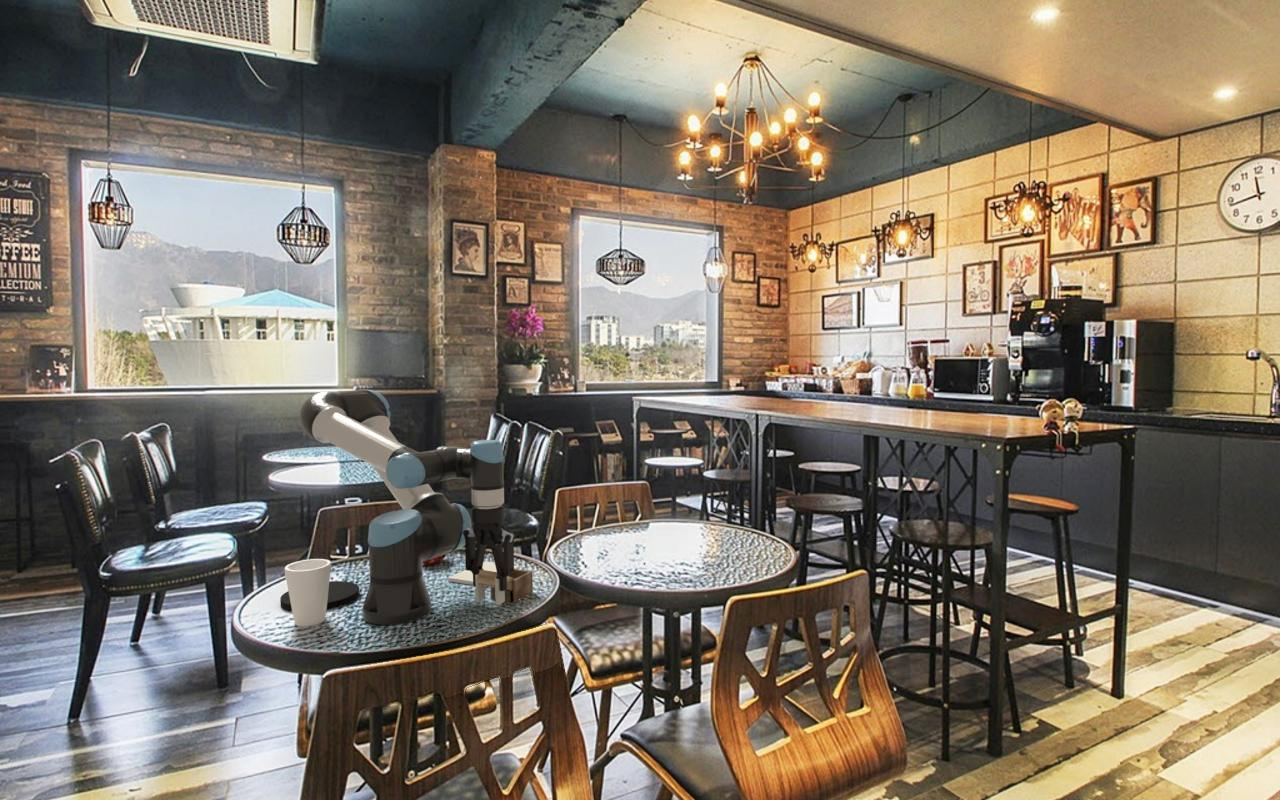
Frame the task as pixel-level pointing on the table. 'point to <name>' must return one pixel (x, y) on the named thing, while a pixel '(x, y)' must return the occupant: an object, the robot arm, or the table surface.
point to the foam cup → (308, 590)
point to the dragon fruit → (434, 560)
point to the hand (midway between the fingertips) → (490, 601)
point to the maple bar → (493, 579)
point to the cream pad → (467, 576)
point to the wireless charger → (331, 595)
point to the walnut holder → (518, 585)
